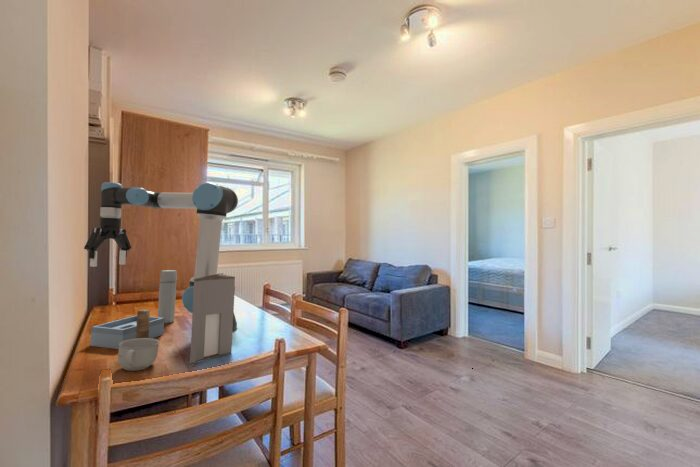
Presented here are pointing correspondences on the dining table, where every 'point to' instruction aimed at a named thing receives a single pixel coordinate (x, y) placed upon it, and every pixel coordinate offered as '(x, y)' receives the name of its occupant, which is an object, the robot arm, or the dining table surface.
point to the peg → (142, 324)
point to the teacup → (137, 353)
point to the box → (122, 331)
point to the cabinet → (212, 317)
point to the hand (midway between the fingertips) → (108, 265)
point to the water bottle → (167, 295)
